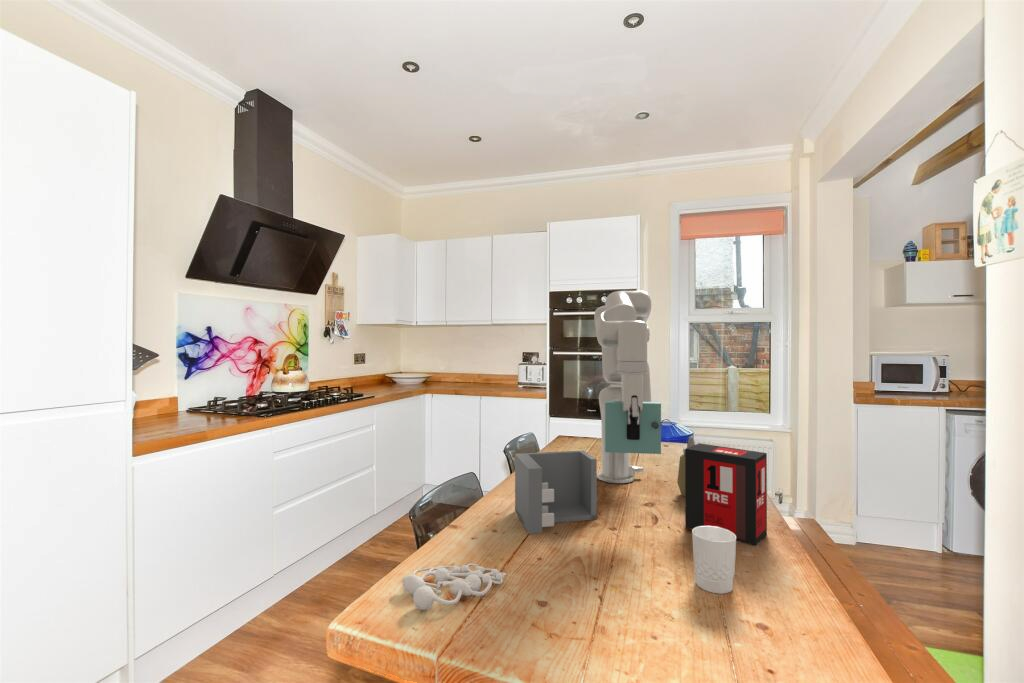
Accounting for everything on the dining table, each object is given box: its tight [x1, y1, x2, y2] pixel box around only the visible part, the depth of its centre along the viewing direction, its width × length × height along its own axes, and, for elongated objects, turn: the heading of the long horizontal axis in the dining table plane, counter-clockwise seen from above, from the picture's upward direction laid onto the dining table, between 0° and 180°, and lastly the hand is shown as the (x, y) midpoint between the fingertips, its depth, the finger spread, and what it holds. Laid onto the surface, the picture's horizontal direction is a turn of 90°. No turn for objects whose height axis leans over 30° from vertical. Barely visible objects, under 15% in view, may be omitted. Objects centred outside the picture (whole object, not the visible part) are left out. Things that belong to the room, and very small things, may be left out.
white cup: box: [691, 526, 737, 595], centre depth 92 cm, size 8×8×10 cm
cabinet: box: [514, 450, 598, 535], centre depth 126 cm, size 20×16×16 cm
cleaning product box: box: [684, 443, 768, 547], centre depth 118 cm, size 16×9×20 cm, turn 47°
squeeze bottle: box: [677, 436, 696, 498], centre depth 145 cm, size 8×8×18 cm
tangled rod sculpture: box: [401, 563, 507, 611], centre depth 91 cm, size 19×14×4 cm
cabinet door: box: [605, 401, 662, 455], centre depth 124 cm, size 14×4×13 cm, turn 81°
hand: (632, 437), depth 124 cm, fingers closed on cabinet door, 3 cm apart
